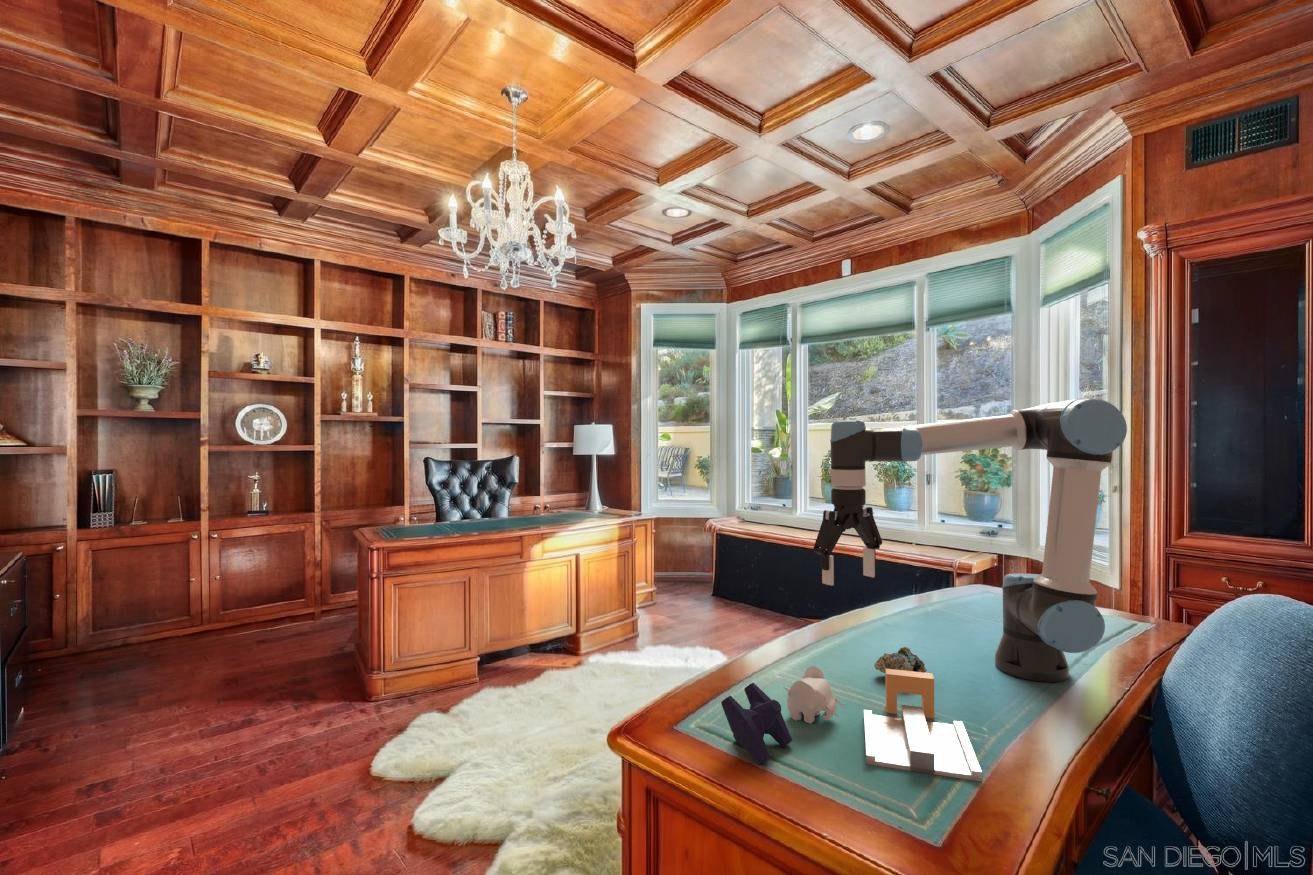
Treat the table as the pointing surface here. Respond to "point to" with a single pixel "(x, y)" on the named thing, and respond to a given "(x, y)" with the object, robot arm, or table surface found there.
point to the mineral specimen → (900, 661)
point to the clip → (910, 689)
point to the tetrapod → (756, 722)
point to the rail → (919, 745)
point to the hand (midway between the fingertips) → (849, 580)
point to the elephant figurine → (811, 697)
